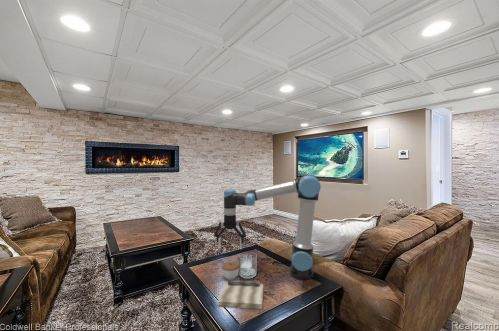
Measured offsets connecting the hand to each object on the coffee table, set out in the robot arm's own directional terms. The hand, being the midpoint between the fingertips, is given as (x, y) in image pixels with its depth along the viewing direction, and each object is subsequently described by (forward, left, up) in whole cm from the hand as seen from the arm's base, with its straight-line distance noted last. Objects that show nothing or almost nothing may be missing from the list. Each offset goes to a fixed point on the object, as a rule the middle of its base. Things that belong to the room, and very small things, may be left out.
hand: (230, 248), depth 141 cm
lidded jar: (0, 0, -19) cm, 19 cm away
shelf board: (-10, +20, -18) cm, 29 cm away
